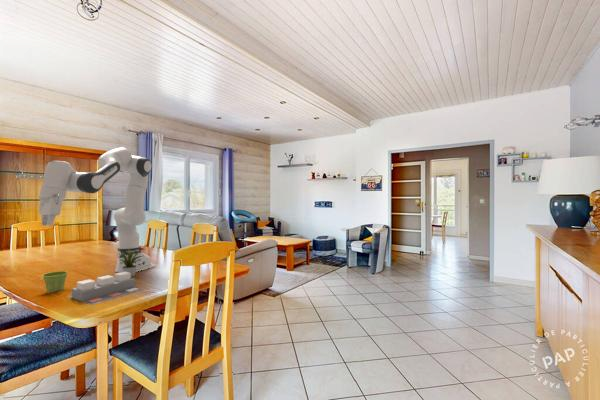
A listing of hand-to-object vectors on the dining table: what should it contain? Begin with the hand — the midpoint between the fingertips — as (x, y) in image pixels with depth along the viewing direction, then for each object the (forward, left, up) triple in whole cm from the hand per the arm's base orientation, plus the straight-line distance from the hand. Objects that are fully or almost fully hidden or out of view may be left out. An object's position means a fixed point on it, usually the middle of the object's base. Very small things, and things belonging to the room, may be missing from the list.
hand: (46, 225), depth 124 cm
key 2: (-25, +15, -30) cm, 42 cm away
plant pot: (-7, -9, -33) cm, 35 cm away
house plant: (-38, -2, -33) cm, 50 cm away
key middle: (-17, +15, -30) cm, 37 cm away
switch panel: (-17, +17, -33) cm, 41 cm away
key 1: (-9, +15, -30) cm, 35 cm away
